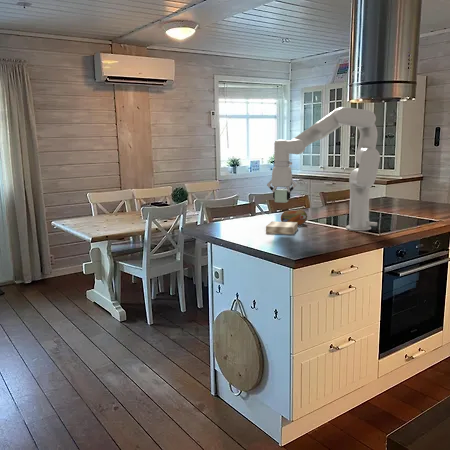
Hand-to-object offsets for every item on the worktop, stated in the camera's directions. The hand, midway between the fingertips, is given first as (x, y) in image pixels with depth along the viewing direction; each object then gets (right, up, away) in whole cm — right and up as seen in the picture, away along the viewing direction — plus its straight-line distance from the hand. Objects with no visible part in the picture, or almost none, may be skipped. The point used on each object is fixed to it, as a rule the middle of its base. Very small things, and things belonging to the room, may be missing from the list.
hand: (281, 199), depth 242 cm
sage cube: (0, -1, 0) cm, 1 cm away
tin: (+9, -13, +19) cm, 25 cm away
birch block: (+1, -17, +3) cm, 17 cm away
